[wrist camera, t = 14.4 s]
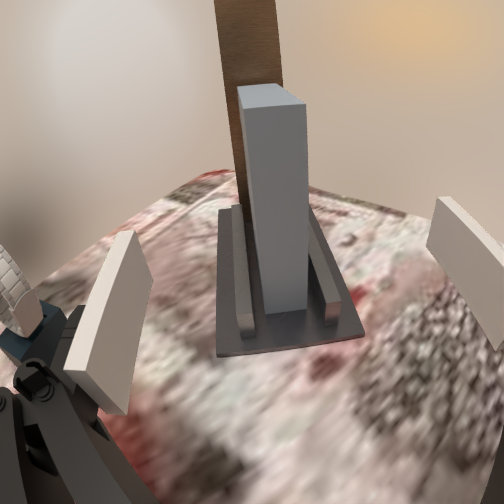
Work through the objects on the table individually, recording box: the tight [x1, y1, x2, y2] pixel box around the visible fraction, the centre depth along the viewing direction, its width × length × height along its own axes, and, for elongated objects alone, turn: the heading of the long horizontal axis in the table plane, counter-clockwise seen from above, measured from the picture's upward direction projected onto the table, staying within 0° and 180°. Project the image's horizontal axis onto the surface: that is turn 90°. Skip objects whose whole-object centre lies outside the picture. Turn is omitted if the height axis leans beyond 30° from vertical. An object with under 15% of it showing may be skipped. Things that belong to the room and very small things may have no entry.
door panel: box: [237, 83, 309, 314], centre depth 22 cm, size 3×11×14 cm, turn 4°
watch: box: [0, 245, 67, 368], centre depth 17 cm, size 6×8×11 cm
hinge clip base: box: [214, 0, 365, 357], centre depth 21 cm, size 10×19×22 cm, turn 4°
